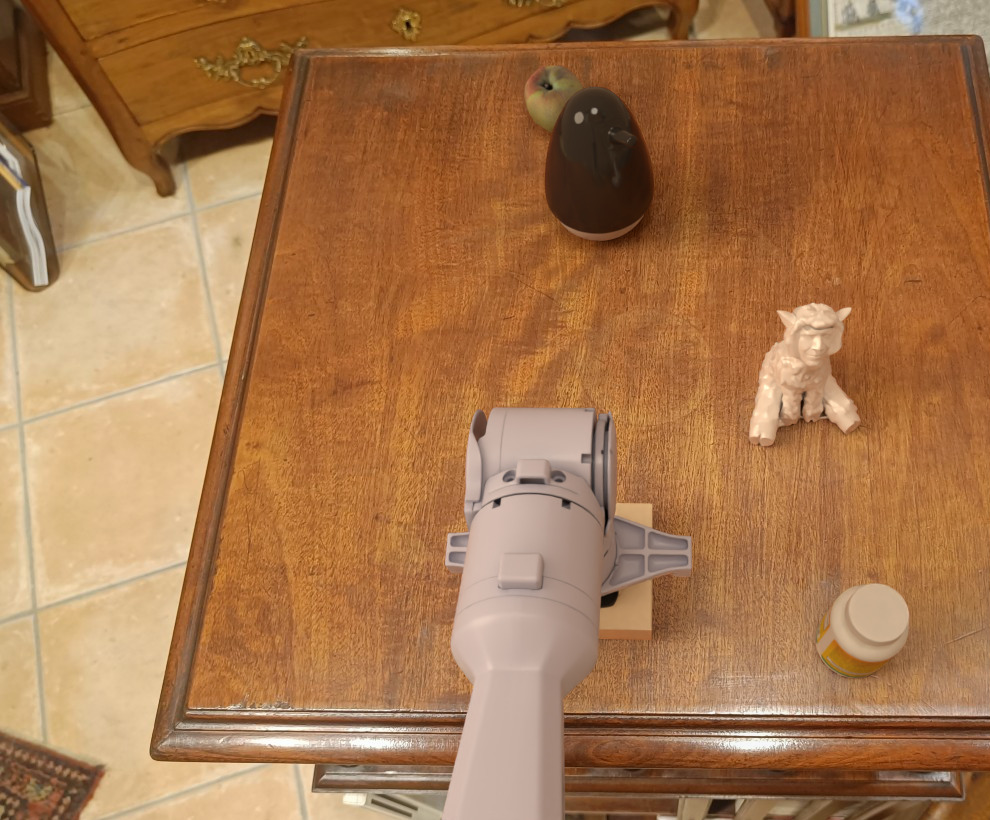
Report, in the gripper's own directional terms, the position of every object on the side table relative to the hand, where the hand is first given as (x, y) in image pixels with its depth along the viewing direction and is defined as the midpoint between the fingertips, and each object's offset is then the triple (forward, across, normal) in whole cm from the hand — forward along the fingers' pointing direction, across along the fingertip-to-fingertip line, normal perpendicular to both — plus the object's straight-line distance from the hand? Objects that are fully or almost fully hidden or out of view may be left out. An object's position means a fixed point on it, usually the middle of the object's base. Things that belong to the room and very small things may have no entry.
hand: (578, 587), depth 63 cm
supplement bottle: (+10, -20, +2) cm, 22 cm away
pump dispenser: (+12, 0, -39) cm, 41 cm away
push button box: (+10, 0, -3) cm, 11 cm away
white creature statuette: (+11, -17, -19) cm, 28 cm away
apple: (+13, +5, -52) cm, 54 cm away
